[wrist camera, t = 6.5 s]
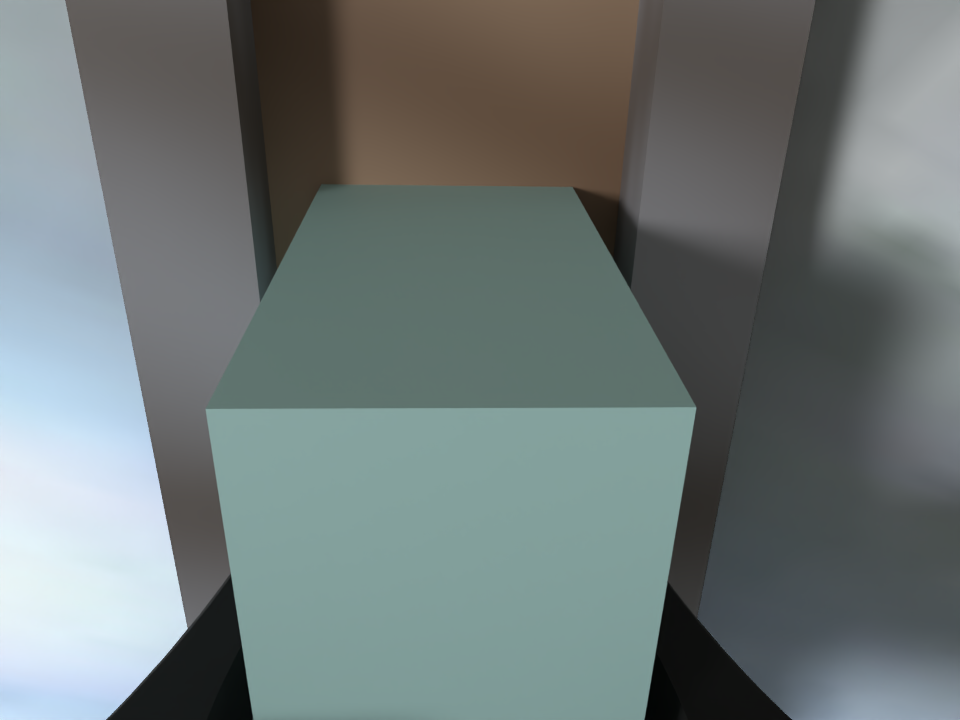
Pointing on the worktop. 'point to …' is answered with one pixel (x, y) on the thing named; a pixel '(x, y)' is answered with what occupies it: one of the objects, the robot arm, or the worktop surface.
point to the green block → (449, 464)
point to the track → (433, 178)
